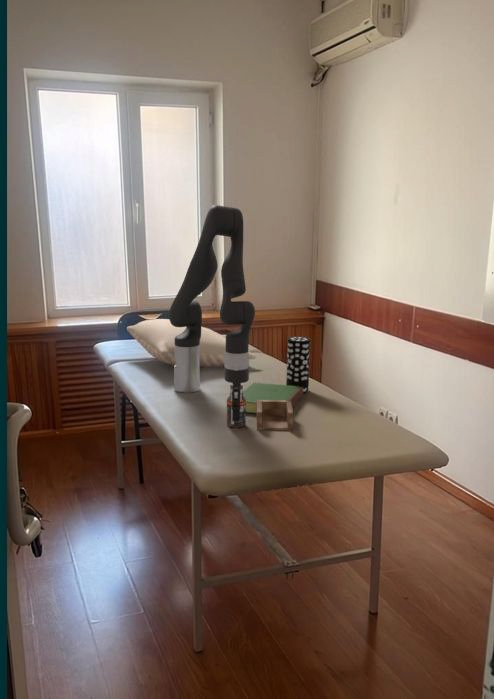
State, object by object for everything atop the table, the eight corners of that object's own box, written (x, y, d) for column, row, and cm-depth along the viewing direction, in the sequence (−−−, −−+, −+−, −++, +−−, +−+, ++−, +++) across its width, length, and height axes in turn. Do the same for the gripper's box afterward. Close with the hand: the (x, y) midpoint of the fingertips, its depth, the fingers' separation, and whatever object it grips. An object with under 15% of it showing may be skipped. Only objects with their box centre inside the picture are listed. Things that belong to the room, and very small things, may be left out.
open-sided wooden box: (256, 429, 189) (257, 412, 188) (256, 416, 201) (256, 399, 199) (292, 430, 189) (293, 412, 188) (290, 417, 201) (290, 400, 199)
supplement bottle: (226, 421, 196) (226, 387, 193) (244, 421, 196) (245, 387, 193) (227, 428, 190) (227, 393, 187) (246, 428, 190) (246, 393, 188)
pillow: (157, 377, 237) (254, 379, 260) (164, 332, 233) (261, 337, 256) (121, 349, 274) (209, 352, 296) (126, 309, 270) (215, 315, 293)
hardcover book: (285, 416, 200) (285, 405, 199) (231, 411, 206) (231, 400, 205) (303, 395, 223) (303, 386, 222) (254, 391, 229) (254, 382, 228)
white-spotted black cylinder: (307, 395, 224) (309, 342, 220) (284, 393, 226) (286, 340, 221) (309, 388, 232) (311, 337, 227) (287, 387, 234) (289, 336, 229)
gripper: (225, 359, 195) (225, 409, 199) (223, 371, 181) (223, 425, 185) (249, 360, 195) (248, 410, 199) (248, 372, 181) (248, 425, 185)
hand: (236, 417), depth 192 cm, fingers closed on supplement bottle, 6 cm apart
